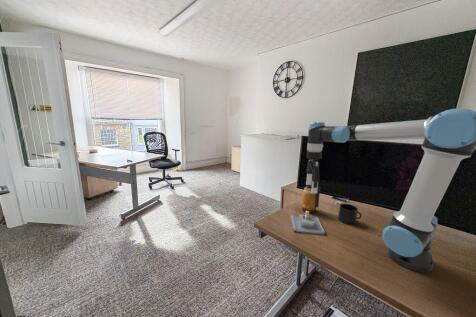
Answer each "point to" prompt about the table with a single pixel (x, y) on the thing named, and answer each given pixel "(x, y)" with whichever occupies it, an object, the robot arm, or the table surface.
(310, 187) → the canister
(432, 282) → the table surface
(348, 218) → the mug
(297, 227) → the keeper plate
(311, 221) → the square frame
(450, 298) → the table surface
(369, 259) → the table surface
